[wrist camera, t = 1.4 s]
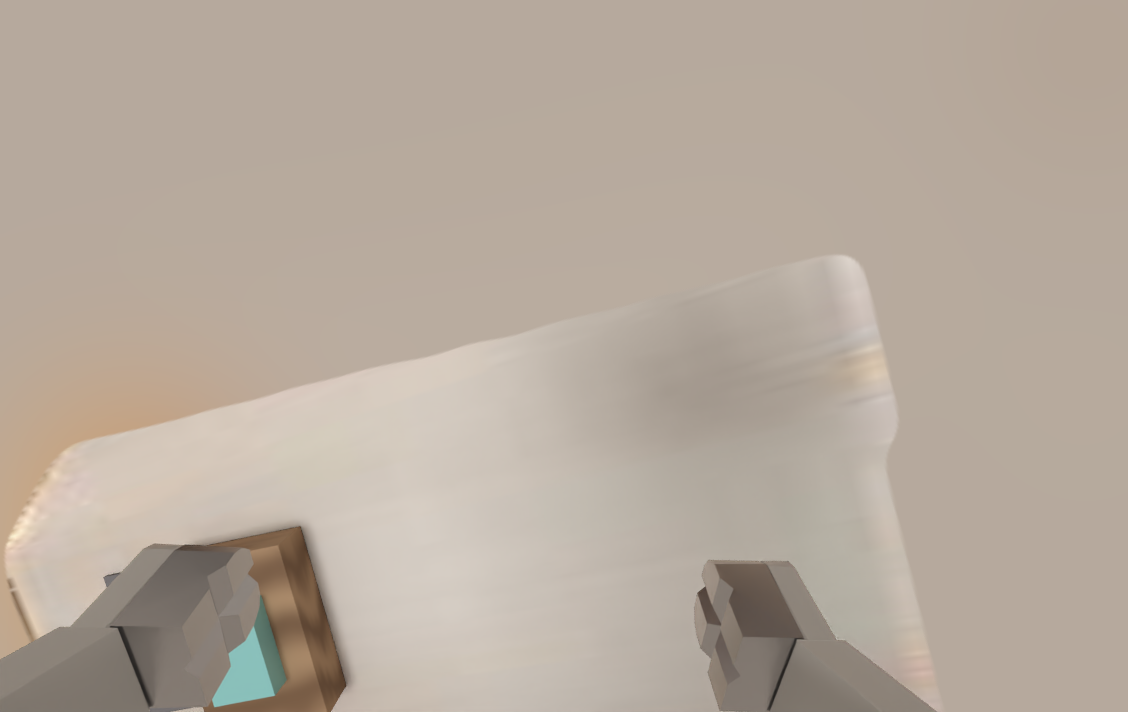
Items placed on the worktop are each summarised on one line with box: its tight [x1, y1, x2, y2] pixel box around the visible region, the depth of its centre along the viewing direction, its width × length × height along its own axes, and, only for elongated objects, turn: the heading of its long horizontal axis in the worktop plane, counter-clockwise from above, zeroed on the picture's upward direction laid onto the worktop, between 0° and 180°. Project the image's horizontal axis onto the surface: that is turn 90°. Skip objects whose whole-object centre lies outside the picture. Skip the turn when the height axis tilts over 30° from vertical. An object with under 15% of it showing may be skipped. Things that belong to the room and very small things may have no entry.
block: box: [212, 595, 287, 707], centre depth 49 cm, size 9×6×2 cm, turn 12°
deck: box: [203, 527, 346, 712], centre depth 52 cm, size 18×12×4 cm, turn 12°
